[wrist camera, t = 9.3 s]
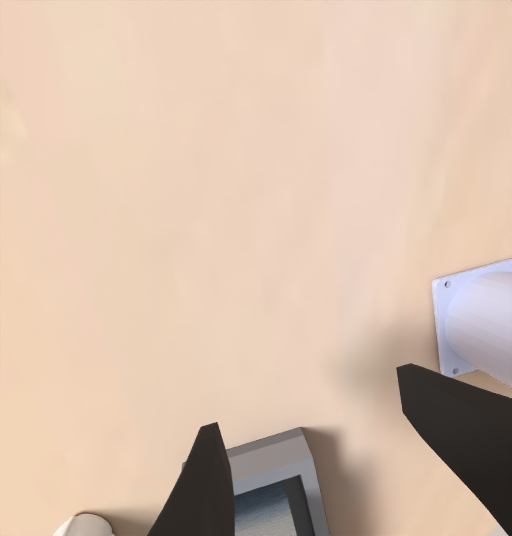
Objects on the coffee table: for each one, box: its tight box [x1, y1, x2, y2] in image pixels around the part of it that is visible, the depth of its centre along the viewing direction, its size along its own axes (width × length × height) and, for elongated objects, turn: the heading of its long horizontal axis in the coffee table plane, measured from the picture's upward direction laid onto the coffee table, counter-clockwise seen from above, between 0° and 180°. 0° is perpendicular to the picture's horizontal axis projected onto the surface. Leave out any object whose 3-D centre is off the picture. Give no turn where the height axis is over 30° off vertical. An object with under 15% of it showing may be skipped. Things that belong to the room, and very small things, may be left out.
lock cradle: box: [181, 427, 330, 536], centre depth 22 cm, size 9×12×3 cm
